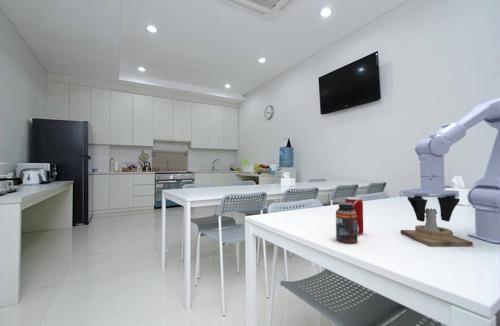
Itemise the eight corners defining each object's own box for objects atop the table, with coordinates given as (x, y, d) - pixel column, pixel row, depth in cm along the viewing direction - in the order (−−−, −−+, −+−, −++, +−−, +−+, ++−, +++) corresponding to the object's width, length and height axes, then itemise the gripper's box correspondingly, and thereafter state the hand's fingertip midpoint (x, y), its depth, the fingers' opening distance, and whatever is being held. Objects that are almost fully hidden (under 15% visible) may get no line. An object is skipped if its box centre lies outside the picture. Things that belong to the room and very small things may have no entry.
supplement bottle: (357, 239, 68) (356, 202, 69) (357, 245, 63) (357, 205, 63) (336, 236, 71) (336, 201, 71) (335, 242, 66) (334, 204, 66)
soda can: (342, 232, 75) (341, 197, 76) (350, 229, 79) (350, 195, 79) (358, 236, 71) (357, 199, 71) (366, 233, 74) (365, 197, 75)
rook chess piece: (444, 237, 66) (443, 210, 66) (427, 236, 67) (426, 210, 67) (435, 233, 70) (434, 208, 70) (419, 232, 71) (418, 207, 71)
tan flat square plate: (436, 233, 74) (436, 223, 74) (472, 246, 62) (472, 234, 62) (400, 233, 74) (400, 223, 74) (429, 246, 62) (429, 234, 62)
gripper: (444, 176, 72) (445, 217, 72) (399, 176, 72) (400, 217, 72) (465, 176, 65) (466, 223, 65) (415, 177, 65) (416, 223, 65)
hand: (433, 220), depth 68 cm, fingers open, 7 cm apart
